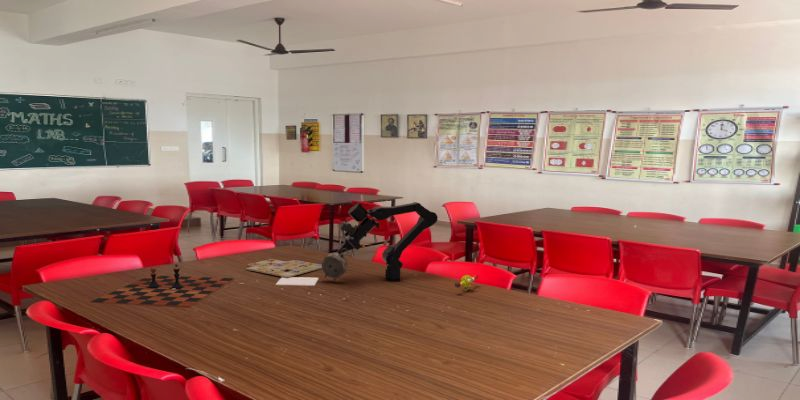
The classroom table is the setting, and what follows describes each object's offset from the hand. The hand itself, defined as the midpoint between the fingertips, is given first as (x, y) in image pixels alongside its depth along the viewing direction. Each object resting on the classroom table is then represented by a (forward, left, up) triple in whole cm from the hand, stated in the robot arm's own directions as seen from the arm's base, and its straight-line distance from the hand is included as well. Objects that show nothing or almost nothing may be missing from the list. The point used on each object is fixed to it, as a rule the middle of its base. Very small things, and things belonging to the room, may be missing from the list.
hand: (338, 253), depth 227 cm
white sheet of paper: (+18, 0, -14) cm, 23 cm away
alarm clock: (+5, 0, -11) cm, 12 cm away
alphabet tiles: (+30, -24, -14) cm, 41 cm away
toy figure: (-57, +9, -14) cm, 59 cm away
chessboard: (+69, +16, -14) cm, 72 cm away
